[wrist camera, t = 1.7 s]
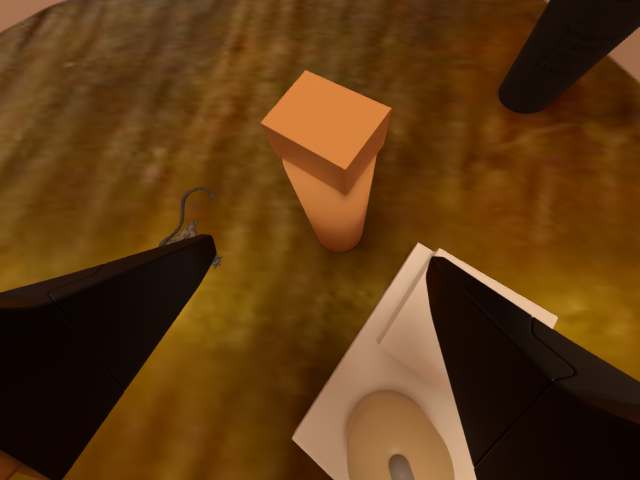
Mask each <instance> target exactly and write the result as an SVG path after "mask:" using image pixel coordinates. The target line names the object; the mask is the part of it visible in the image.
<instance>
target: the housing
mask: <svg viewBox="0 0 640 480" xmlns="http://www.w3.org/2000/svg"><path fill="white" fill-rule="evenodd" d="M432 256H441V257H445V258H446V259H448V260H449V261H451V262H452V263H454V264H455V265H457V266H458V267H460V268H461V269H463V270H464V271H466V272H467V273H469V274H470V275H472V276H473V277H475V278H476V279H478V280H479V281H481V282H482V283H484V284H485V285H487V286H488V287H490V288H491V289H493V290H494V291H496V292H497V293H499V294H501V295H502V296H504V297H505V298H507V299H508V300H510V301H511V302H513V303H514V304H516V305H517V306H519V307H520V308H522V309H523V310H525V311H526V312H528V313H529V314H531V315H532V317H535V318H537V319H538V320H540V321H541V322H543V323H544V324H546V325H547V326H549V327H550V328H552V329H553V327H554V325H555V323H556V321H557V319H558V317H557V316H555V315H553V314H551V313H550V312H548V311H546V310H545V309H543V308H541V307H539V306H538V305H536V304H534V303H532V302H531V301H529V300H527V299H526V298H524V297H522V296H520V295H519V294H517V293H515V292H514V291H512V290H510V289H508V288H507V287H505V286H503V285H502V284H500V283H498V282H496V281H495V280H493V279H491V278H490V277H488V276H486V275H484V274H483V273H481V272H479V271H478V270H476V269H474V268H472V267H471V266H469V265H467V264H466V263H464V262H462V261H460V260H459V259H457V258H455V257H454V256H452V255H450V254H448V253H447V252H445V251H443V250H442V249H440V248H439V249H437V250H436V251H434V252H433V251H432V250H430V249H428V248H426V247H425V246H423V245H421V244H420V243H417V244H416V245H415V246H414V247H413V249H412V251H411V252H410V254H409V255H408V257H407V258H406V260H405V261H404V263H403V264H402V266H401V268H400V269H399V271H398V272H397V274H396V275H395V277H394V278H393V280H392V281H391V283H390V285H389V286H388V288H387V289H386V291H385V292H384V294H383V295H382V297H381V299H380V300H379V302H378V303H377V305H376V306H375V308H374V309H373V311H372V312H371V314H370V316H369V317H368V319H367V320H366V322H365V323H364V325H363V326H362V328H361V329H360V331H359V333H358V334H357V336H356V337H355V339H354V340H353V342H352V343H351V345H350V347H349V348H348V350H347V351H346V353H345V354H344V356H343V357H342V359H341V360H340V362H339V364H338V365H337V367H336V368H335V370H334V371H333V373H332V374H331V376H330V377H329V379H328V381H327V382H326V384H325V385H324V387H323V388H322V390H321V391H320V393H319V394H318V396H317V398H316V399H315V401H314V402H313V404H312V405H311V407H310V408H309V410H308V412H307V413H306V415H305V416H304V418H303V419H302V421H301V422H300V424H299V425H298V427H297V429H296V430H295V432H294V435H293V437H292V439H293V440H294V441H295V442H296V443H297V444H298V445H299V446H300V447H301V448H302V449H303V450H304V451H305V452H306V453H307V454H308V455H309V456H310V457H311V458H312V459H313V460H314V461H315V462H316V463H317V464H318V465H319V466H320V467H321V468H322V469H323V470H324V471H325V472H326V473H327V474H328V475H329V476H330V477H331V478H332V479H333V480H477V479H476V476H475V472H474V468H475V467H473V464H472V461H471V457H470V454H469V450H468V446H467V443H466V439H465V436H464V432H463V428H462V425H461V421H460V418H459V414H458V411H457V407H456V403H455V400H454V396H453V393H452V389H451V385H450V382H449V378H448V375H447V371H446V368H445V364H444V360H443V357H442V353H441V350H440V346H439V342H438V339H437V335H436V332H435V328H434V325H433V321H432V317H431V312H430V306H429V299H428V292H427V286H426V272H427V268H428V265H429V261H430V259H431V257H432Z"/></svg>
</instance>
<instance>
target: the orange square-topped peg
mask: <svg viewBox="0 0 640 480" xmlns="http://www.w3.org/2000/svg"><path fill="white" fill-rule="evenodd" d="M390 113H391V108H390V107H387V106H385V105H383V104H381V103H378V102H376V101H374V100H372V99H369V98H367V97H365V96H363V95H360V94H358V93H356V92H354V91H351V90H349V89H347V88H345V87H342V86H340V85H338V84H335V83H333V82H331V81H329V80H326V79H324V78H322V77H320V76H317V75H315V74H313V73H311V72H308V71H306V70H305V72H304V73H303V74H302V75H301V76H300V77H299V79H298V80H297V81H296V82H295V83H294V84H293V86H292V87H291V88H290V89H289V90H288V91H287V93H286V94H285V95H284V96H283V97H282V98H281V100H280V101H279V102H278V103H277V104H276V105H275V107H274V108H273V109H272V110H271V111H270V112H269V114H268V115H267V116H266V117H265V118H264V119H263V121H262V122H261V125H262V127H263V129H264V131H265V133H266V135H267V137H268V139H269V141H270V143H271V146H272V148H273V150H274V152H275V154H276V155H277V156H279V157H281V158H282V160H283V165H284V168H285V170H286V172H287V174H288V177H289V179H290V181H291V183H292V185H293V187H294V189H295V191H296V193H297V196H298V198H299V200H300V202H301V204H302V206H303V208H304V210H305V212H306V215H307V217H308V219H309V221H310V223H311V225H312V227H313V229H314V231H315V234H316V236H317V238H318V240H319V242H320V243H321V245H322V246H323V247H324V248H326V249H327V250H329V251H332V252H337V253H341V252H346V251H349V250H351V249H353V248H354V247H355V246H356V245H357V244H358V243H359V241H360V239H361V237H362V233H363V227H364V221H365V216H366V210H367V205H368V199H369V194H370V188H371V183H372V177H373V172H374V166H375V161H376V155H377V153H378V152H379V150H380V149H381V148H382V146H383V145H384V141H385V136H386V132H387V127H388V122H389V118H390Z"/></svg>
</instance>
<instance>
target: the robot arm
mask: <svg viewBox="0 0 640 480" xmlns="http://www.w3.org/2000/svg"><path fill="white" fill-rule="evenodd" d="M215 257H216V248H215V244H214V240H213V237H212V236H211V235H207V234H200V235H197V236H194V237H190V238H187V239H184V240H180V241H177V242H174V243H171V244H167V245H164V246H161V247H157V248H154V249H151V250H148V251H144V252H141V253H138V254H134V255H131V256H128V257H124V258H121V259H118V260H115V261H111V262H108V263H106V264H101V265H98V266H95V267H91V268H88V269H85V270H81V271H78V272H74V273H71V274H67V275H64V276H60V277H56V278H53V279H49V280H45V281H42V282H38V283H34V284H31V285H27V286H23V287H19V288H16V289H12V290H8V291H5V292H1V293H0V480H9V479H10V478H11V477H12V476H13V475H14V474H15V473H16V472H18V473H22V474H25V475H28V476H31V477H35V478H38V479H41V480H62V479H63V478H64V477H65V475H66V474H67V473H68V471H69V470H70V468H71V467H72V466H73V464H74V463H75V461H76V460H77V458H78V457H79V456H80V454H81V453H82V451H83V450H84V449H85V447H86V446H87V444H88V443H89V441H90V440H91V439H92V437H93V436H94V434H95V433H96V432H97V430H98V429H99V427H100V426H101V424H102V423H103V422H104V420H105V419H106V417H107V416H108V415H109V413H110V412H111V410H112V409H113V407H114V406H115V405H116V403H117V402H118V400H119V399H120V397H121V396H122V395H123V393H124V391H125V390H126V389H127V387H128V386H129V384H130V383H131V382H132V380H133V379H134V377H135V376H136V374H137V373H138V372H139V370H140V369H141V367H142V366H143V365H144V363H145V362H146V360H147V359H148V357H149V356H150V355H151V353H152V352H153V350H154V349H155V348H156V346H157V345H158V343H159V342H160V340H161V339H162V338H163V336H164V335H165V333H166V332H167V331H168V329H169V328H170V326H171V325H172V323H173V322H174V321H175V319H176V318H177V316H178V315H179V314H180V312H181V311H182V309H183V308H184V306H185V305H186V304H187V302H188V301H189V299H190V298H191V297H192V295H193V294H194V292H195V291H196V289H197V288H198V286H199V285H200V283H201V282H202V280H203V278H204V277H205V275H206V273H207V271H208V269H209V268H210V266H211V264H212V262H213V260H214V259H215ZM426 286H427V292H428V299H429V306H430V312H431V317H432V321H433V325H434V328H435V332H436V335H437V339H438V342H439V346H440V350H441V353H442V357H443V360H444V364H445V368H446V371H447V375H448V378H449V382H450V385H451V389H452V393H453V396H454V400H455V403H456V407H457V411H458V414H459V418H460V421H461V425H462V428H463V432H464V436H465V439H466V443H467V446H468V450H469V454H470V457H471V461H472V464H473V467H475V468H474V472H475V476H476V479H477V480H640V382H639V381H637V380H636V379H634V378H632V377H630V376H629V375H627V374H625V373H624V372H622V371H620V370H619V369H617V368H615V367H614V366H612V365H610V364H609V363H607V362H605V361H604V360H602V359H600V358H599V357H597V356H595V355H594V354H592V353H590V352H589V351H587V350H585V349H584V348H582V347H581V346H579V345H577V344H576V343H574V342H572V341H571V340H569V339H567V338H566V337H564V336H563V335H561V334H560V333H558V332H557V331H555V330H553V329H552V328H550V327H549V326H547V325H546V324H544V323H543V322H541V321H540V320H538V319H537V318H535V317H532V315H531V314H529V313H528V312H526V311H525V310H523V309H522V308H520V307H519V306H517V305H516V304H514V303H513V302H511V301H510V300H508V299H507V298H505V297H504V296H502V295H501V294H499V293H497V292H496V291H494V290H493V289H491V288H490V287H488V286H487V285H485V284H484V283H482V282H481V281H479V280H478V279H476V278H475V277H473V276H472V275H470V274H469V273H467V272H466V271H464V270H463V269H461V268H460V267H458V266H457V265H455V264H454V263H452V262H451V261H449V260H448V259H446V258H445V257H441V256H432V257H431V259H430V261H429V265H428V268H427V272H426Z"/></svg>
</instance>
